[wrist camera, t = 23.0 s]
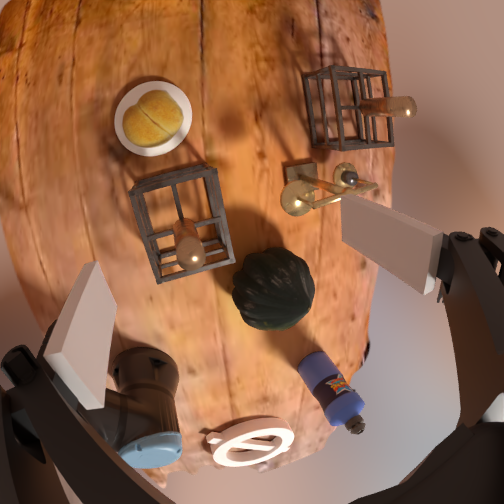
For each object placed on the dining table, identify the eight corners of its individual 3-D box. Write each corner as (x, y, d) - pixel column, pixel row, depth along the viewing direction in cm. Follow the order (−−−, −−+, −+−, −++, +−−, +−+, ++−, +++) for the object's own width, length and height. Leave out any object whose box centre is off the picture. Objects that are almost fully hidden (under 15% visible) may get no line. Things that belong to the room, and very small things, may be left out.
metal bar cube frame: (157, 258, 46) (158, 324, 30) (135, 181, 40) (115, 209, 24) (222, 240, 49) (256, 296, 32) (206, 162, 43) (234, 177, 26)
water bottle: (304, 352, 67) (355, 425, 45) (332, 349, 70) (384, 414, 48) (292, 377, 70) (335, 448, 48) (320, 373, 73) (365, 437, 51)
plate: (124, 164, 39) (123, 165, 38) (110, 94, 34) (108, 93, 32) (197, 145, 41) (198, 145, 40) (184, 75, 36) (185, 73, 35)
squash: (207, 315, 47) (281, 360, 41) (234, 234, 44) (321, 276, 38) (246, 299, 60) (307, 332, 54) (270, 234, 56) (338, 265, 50)
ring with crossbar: (203, 429, 70) (206, 442, 66) (290, 407, 77) (296, 418, 73) (216, 462, 81) (220, 471, 77) (287, 443, 88) (291, 452, 84)
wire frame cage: (312, 147, 47) (384, 158, 30) (301, 75, 41) (371, 53, 24) (361, 142, 50) (436, 154, 33) (353, 77, 44) (427, 66, 27)
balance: (256, 201, 48) (298, 230, 34) (252, 173, 46) (294, 190, 32) (341, 183, 52) (400, 203, 37) (339, 158, 49) (400, 170, 35)
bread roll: (114, 123, 35) (109, 121, 31) (158, 83, 34) (158, 78, 31) (148, 160, 38) (146, 161, 35) (192, 120, 38) (195, 118, 35)
